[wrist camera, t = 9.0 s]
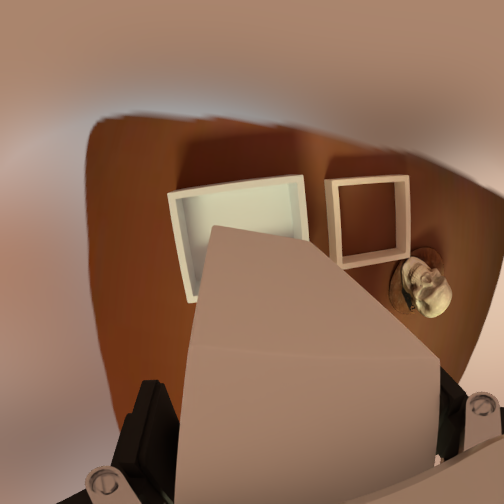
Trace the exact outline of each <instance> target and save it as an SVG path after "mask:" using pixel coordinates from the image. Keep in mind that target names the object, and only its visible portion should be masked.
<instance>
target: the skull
mask: <svg viewBox="0 0 504 504" xmlns="http://www.w3.org/2000/svg"><path fill="white" fill-rule="evenodd" d="M443 273H444V266H443V261H442V258H441V256H440V255H439V253H438V252H437V251H436V250H434V249H432V248H429V247H423V248H419V249H416V250H414V251H412V252H411V253H410V258H405V259H403V260H402V261H401V262H400V263H399V265H398V266H397V268H396V270H395V272H394V275H393V277H392V279H391V284H390V291H389V292H390V293H389V294H390V295H389V296H390V300H391V303H392V305H393V307H394V308H395V309H396V310H397V311H398V312H400V313H403V314H412V313H416V312H412V311H411V309H409V308H410V307H411V306H414V308H412V309H415V308H416V309H417V310H418V311H419V312H420V313H421V314H422V315H424V316H425V317H428V318H433V317H436V316H438V315H440V314H442V313H443V312H444V311H445V310H446V308H447V307H448V305H449V303H450V301H451V297H452V291H451V288H450V286H449V285H448V283H447V281H446V278H445V277H444V276H443ZM412 304H413V305H412Z"/></svg>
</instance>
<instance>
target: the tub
mask: <svg viewBox="0 0 504 504" xmlns="http://www.w3.org/2000/svg"><path fill="white" fill-rule="evenodd" d="M167 195H168V201H169V207H170V213H171V219H172V225H173V231H174V236H175V242H176V247H177V253H178V258H179V263H180V268H181V273H182V278H183V283H184V287H185V292H186V297H187V301H188V303H194V302H197V299H198V294H199V288H200V283H201V278H202V273H203V268H204V263H205V258H206V253H207V248H208V243H209V238H210V234H211V229H212V226H213V225H218V226H225V227H231V228H237V229H243V230H249V231H255V232H261V233H266V234H272V235H278V236H284V237H289V238H295V239H300V240H306V241H309V231H308V219H307V208H306V197H305V187H304V178H303V175H295V174H289V175H280V176H271V177H262V178H254V179H246V180H238V181H231V182H224V183H217V184H210V185H203V186H197V187H191V188H185V189H179V190H174V191H172V192H169V193H167Z"/></svg>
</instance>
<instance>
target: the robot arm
mask: <svg viewBox="0 0 504 504" xmlns="http://www.w3.org/2000/svg"><path fill="white" fill-rule="evenodd" d="M439 395H440V407H439V425H438V437H437V447H436V455H437V454H439V456H440V457H441V462H440V464H439V465H437V466H435V467H433V468H431V469H429V470H427V471H425V472H423V473H420V474H418V475H416V476H414V477H412V478H409V479H407V480H405V481H402V482H400V483H397V484H395V485H392V486H390V487H387V488H384V489H382V490H379V491H376V492H373V493H370V494H368V495H365V496H362V497H358V498H355V499H352V500H349V501H345V502H342V503H338V504H504V407H500V405H499V402H498V400H497V398H496V397H495V396H493V395H492V394H490V393H487V392H477V393H474V394H472V395H471V396H469V397H468V396H467V395H466V392H465V391H464V390H463V389H462V388H461V387H460V386H459V385H458V384H457V383H456V382H455V381H454V380H453V379H452V378H451V377H450V375H449V374H448V373H447V372H446V371H445V370H444V369H443V368H442V367H441V366H440V394H439ZM179 430H180V423H179V420H178V418H177V415H176V413H175V411H174V408H173V406H172V403H171V401H170V398H169V395H168V393H167V390H166V387H165V385H164V384H163V383H160V382H159V381H158V380H144V381H143V382H142V384H141V387H140V390H139V393H138V396H137V399H136V402H135V405H134V409H133V412H132V413H128V414H127V415H126V418H125V420H124V424H123V427H122V430H121V433H120V436H119V440H118V443H117V446H116V449H115V452H114V456H113V459H112V463H111V466H101V467H97V468H95V469H94V470H92V471H91V472H90V473H89V474H88V475H87V477H86V480H85V486H86V489H84V490H82V491H80V492H78V493H77V494H74V495H73V496H71V497H69V498H67V499H65V500H63V501H61V502H59V503H57V504H174V498H175V481H176V466H177V453H178V441H179Z"/></svg>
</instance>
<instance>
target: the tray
mask: <svg viewBox="0 0 504 504" xmlns="http://www.w3.org/2000/svg"><path fill="white" fill-rule="evenodd" d="M384 182H394V187H395V209H396V248H392V249H386V250H380V251H374V252H368V253H362V254H356V255H350V256H344V257H342V239H341V220H340V205H339V192H338V186H344V185H356V184H369V183H384ZM324 184H325V195H326V207H327V221H328V236H329V254H330V259H331V260H332V261H333V262H334V263H336V264H337V265H338V266H339V267H340V268H341V269H342V270H344V269H350V268H356V267H361V266H367V265H372V264H378V263H383V262H389V261H394V260H399V259H405V258H410V243H411V213H410V185H409V175H399V174H397V175H378V176H362V177H348V178H335V179H324Z"/></svg>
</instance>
